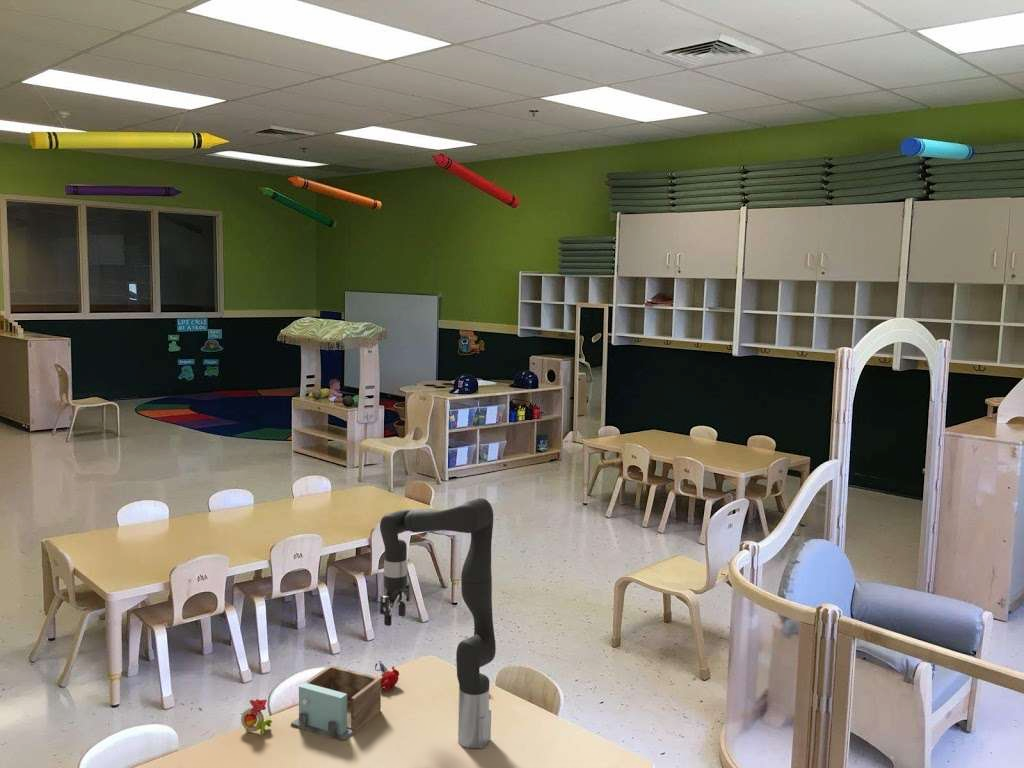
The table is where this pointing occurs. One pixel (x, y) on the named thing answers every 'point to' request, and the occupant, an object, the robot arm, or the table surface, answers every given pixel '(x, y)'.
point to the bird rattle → (255, 717)
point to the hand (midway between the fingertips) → (395, 620)
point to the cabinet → (359, 699)
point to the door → (323, 707)
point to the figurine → (388, 677)
